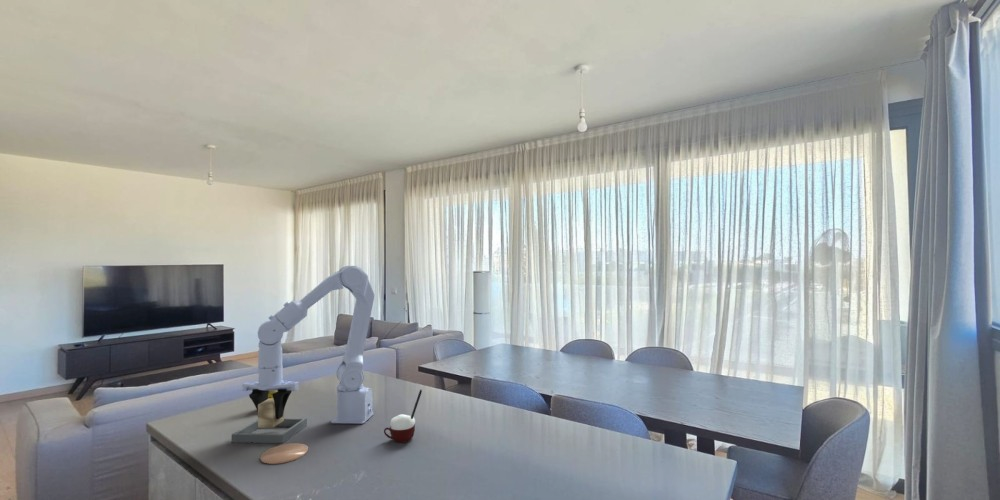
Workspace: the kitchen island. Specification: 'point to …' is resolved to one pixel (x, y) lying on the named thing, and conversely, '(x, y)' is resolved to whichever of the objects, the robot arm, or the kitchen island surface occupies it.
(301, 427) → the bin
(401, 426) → the cocoa
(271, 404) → the block
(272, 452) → the saucer
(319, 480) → the kitchen island surface
